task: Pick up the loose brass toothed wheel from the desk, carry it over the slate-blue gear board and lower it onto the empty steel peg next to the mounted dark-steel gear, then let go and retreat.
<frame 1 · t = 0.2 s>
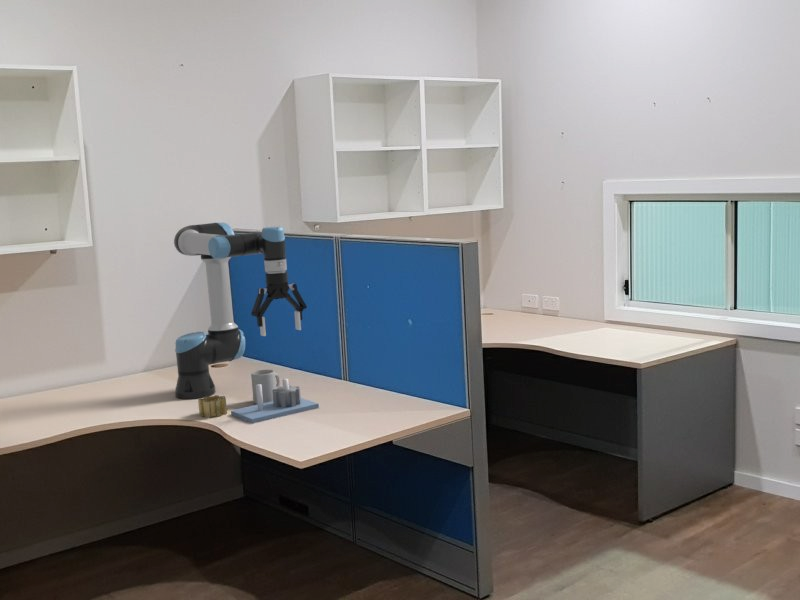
hand: (281, 332, 322), 28 cm above the table, fingers open, 13 cm apart
gear board: (275, 411, 326), on the table
mug: (268, 400, 342), on the table
brass gear: (213, 414, 327), on the table
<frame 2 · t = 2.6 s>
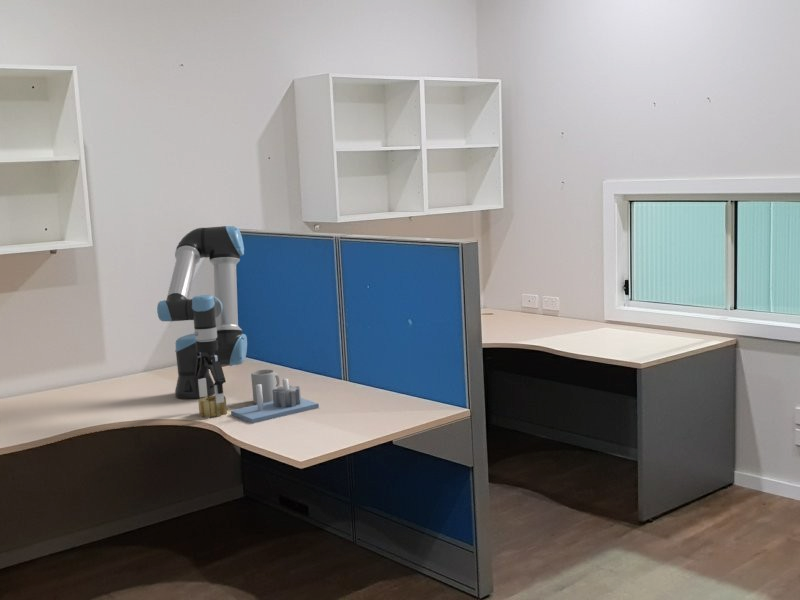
hand: (211, 399, 326), 5 cm above the table, fingers open, 13 cm apart
nothing on the table moved.
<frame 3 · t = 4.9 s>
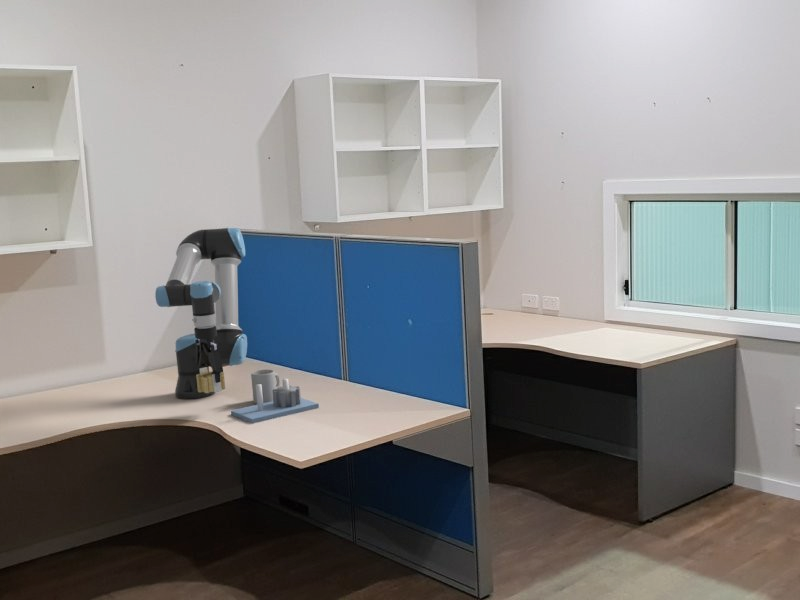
hand: (211, 388, 326), 9 cm above the table, fingers closed on brass gear, 10 cm apart
brass gear: (211, 389, 326), point 9 cm above the table, touching gripper
everything else where it was.
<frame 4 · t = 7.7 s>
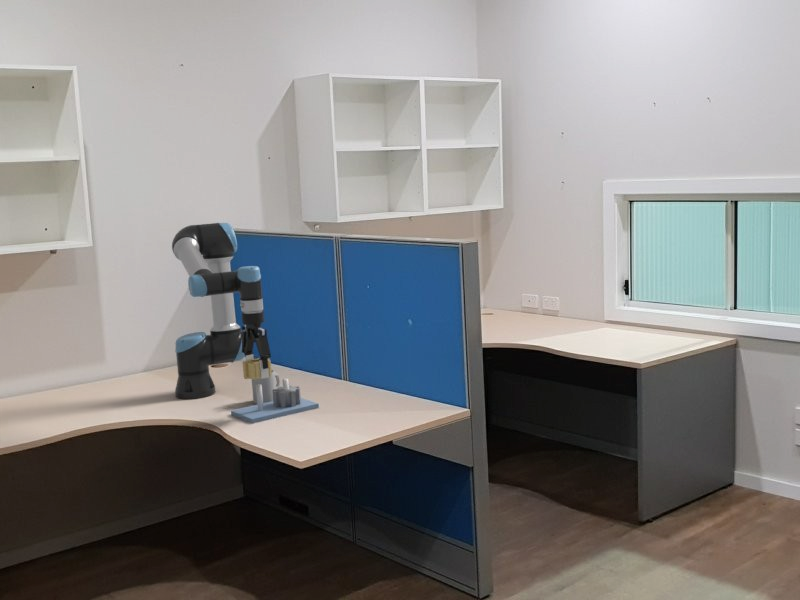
hand: (257, 375, 320), 14 cm above the table, fingers closed on brass gear, 10 cm apart
brass gear: (257, 376, 320), point 14 cm above the table, touching gripper
everything else where it was.
when the fingers open (3 cm above the table, at t = 11.0 s): brass gear drops 1 cm, resting on gear board.
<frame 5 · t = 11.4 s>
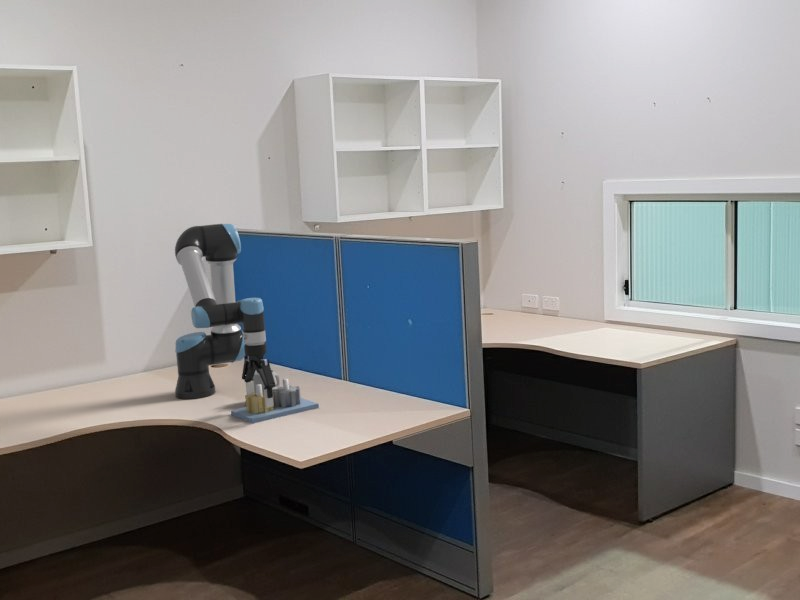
hand: (260, 403, 322), 4 cm above the table, fingers open, 13 cm apart
brass gear: (260, 410, 322), point 1 cm above the table, touching gear board
everything else where it was.
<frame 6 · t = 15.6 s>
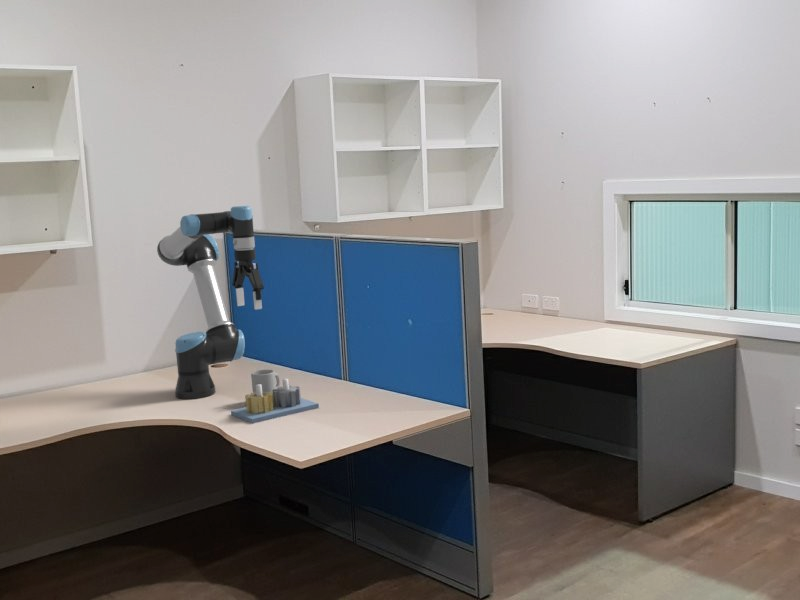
hand: (249, 307, 338), 35 cm above the table, fingers open, 13 cm apart
nothing on the table moved.
at the end: brass gear 0.1 cm from the target spot on the gear board, point 1.5 cm above the gear board's base; brass gear tilted 0°; the gripper is holding nothing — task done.
